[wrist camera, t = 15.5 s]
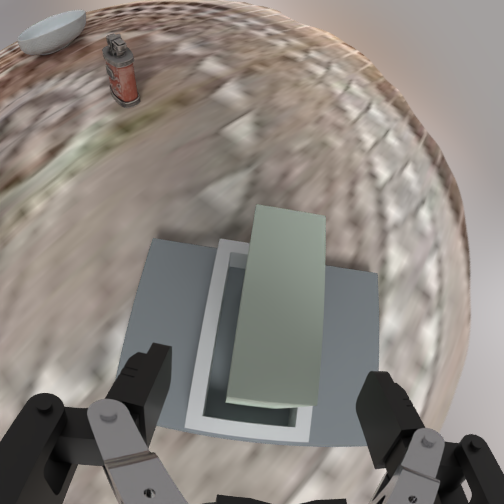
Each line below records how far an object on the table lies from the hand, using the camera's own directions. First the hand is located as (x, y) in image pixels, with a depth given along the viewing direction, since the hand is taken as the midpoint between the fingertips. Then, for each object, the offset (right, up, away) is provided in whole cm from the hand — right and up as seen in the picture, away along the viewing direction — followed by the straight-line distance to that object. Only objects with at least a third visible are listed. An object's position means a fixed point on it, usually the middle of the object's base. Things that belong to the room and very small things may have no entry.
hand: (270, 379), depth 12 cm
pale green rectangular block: (0, -2, +11) cm, 11 cm away
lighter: (-19, +28, +28) cm, 44 cm away
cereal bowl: (-46, +52, +38) cm, 79 cm away
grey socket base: (0, -3, +13) cm, 13 cm away
